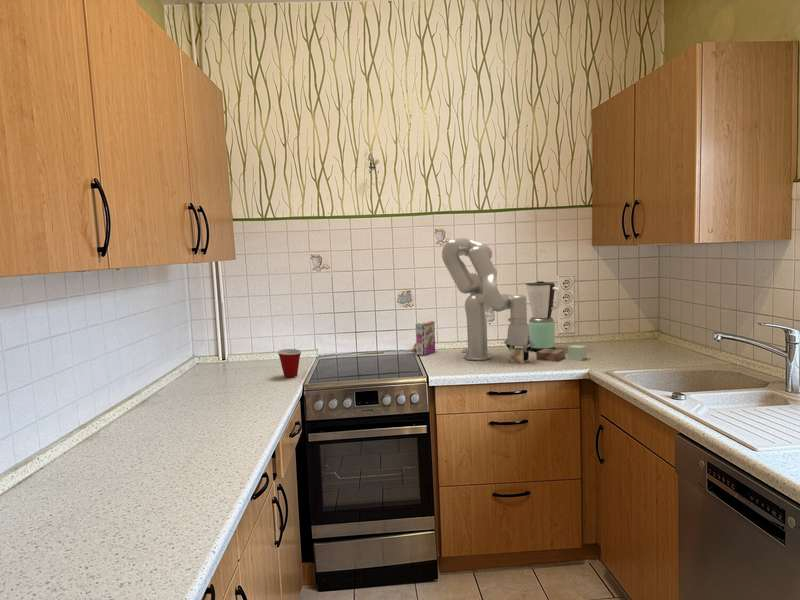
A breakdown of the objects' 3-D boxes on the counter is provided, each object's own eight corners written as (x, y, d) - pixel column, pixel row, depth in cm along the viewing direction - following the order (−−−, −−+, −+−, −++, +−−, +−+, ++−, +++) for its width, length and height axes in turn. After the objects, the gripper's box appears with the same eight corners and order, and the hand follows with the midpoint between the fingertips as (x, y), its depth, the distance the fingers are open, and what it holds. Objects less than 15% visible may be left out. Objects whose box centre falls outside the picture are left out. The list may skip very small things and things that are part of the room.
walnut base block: (536, 360, 281) (536, 352, 281) (544, 356, 289) (544, 348, 289) (556, 362, 276) (556, 353, 275) (564, 358, 284) (564, 350, 283)
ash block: (510, 362, 279) (510, 349, 279) (516, 359, 284) (516, 347, 283) (522, 363, 275) (522, 350, 275) (528, 360, 280) (528, 348, 279)
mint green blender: (520, 350, 304) (519, 282, 300) (532, 346, 314) (531, 280, 310) (555, 354, 292) (554, 283, 288) (567, 349, 302) (566, 280, 298)
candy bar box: (424, 356, 302) (423, 324, 300) (416, 355, 305) (414, 323, 303) (436, 351, 311) (434, 320, 309) (428, 351, 314) (426, 320, 312)
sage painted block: (568, 359, 279) (568, 347, 278) (573, 357, 284) (573, 344, 283) (580, 360, 275) (580, 348, 275) (585, 358, 280) (585, 345, 279)
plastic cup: (297, 379, 263) (295, 352, 262) (275, 379, 266) (273, 352, 264) (307, 373, 273) (305, 348, 272) (285, 373, 276) (283, 348, 275)
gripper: (498, 321, 280) (499, 359, 282) (531, 323, 269) (532, 362, 271) (506, 319, 286) (507, 356, 288) (539, 321, 275) (540, 359, 277)
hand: (519, 358), depth 279 cm, fingers closed on ash block, 6 cm apart
